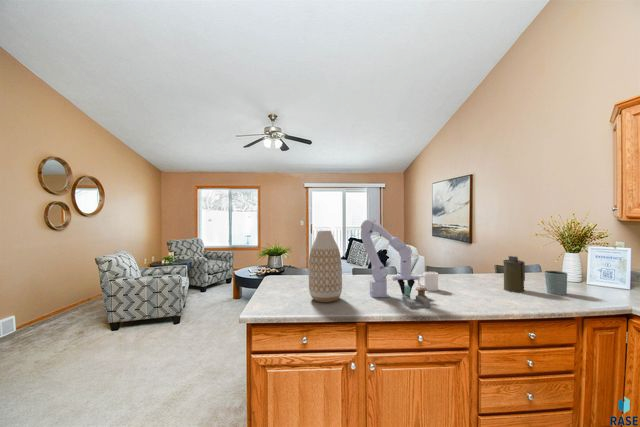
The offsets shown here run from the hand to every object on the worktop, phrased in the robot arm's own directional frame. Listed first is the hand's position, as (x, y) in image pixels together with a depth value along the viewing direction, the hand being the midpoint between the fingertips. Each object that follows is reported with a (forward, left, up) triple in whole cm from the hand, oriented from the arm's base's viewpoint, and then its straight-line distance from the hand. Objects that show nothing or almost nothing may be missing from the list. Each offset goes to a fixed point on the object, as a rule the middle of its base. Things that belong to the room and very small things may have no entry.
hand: (406, 293), depth 158 cm
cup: (+20, +16, -3) cm, 26 cm away
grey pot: (+87, -2, -3) cm, 87 cm away
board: (+1, -10, -3) cm, 11 cm away
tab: (0, -1, -2) cm, 2 cm away
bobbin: (+9, +1, -3) cm, 10 cm away
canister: (+69, +7, -3) cm, 70 cm away
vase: (-44, +5, -3) cm, 44 cm away
